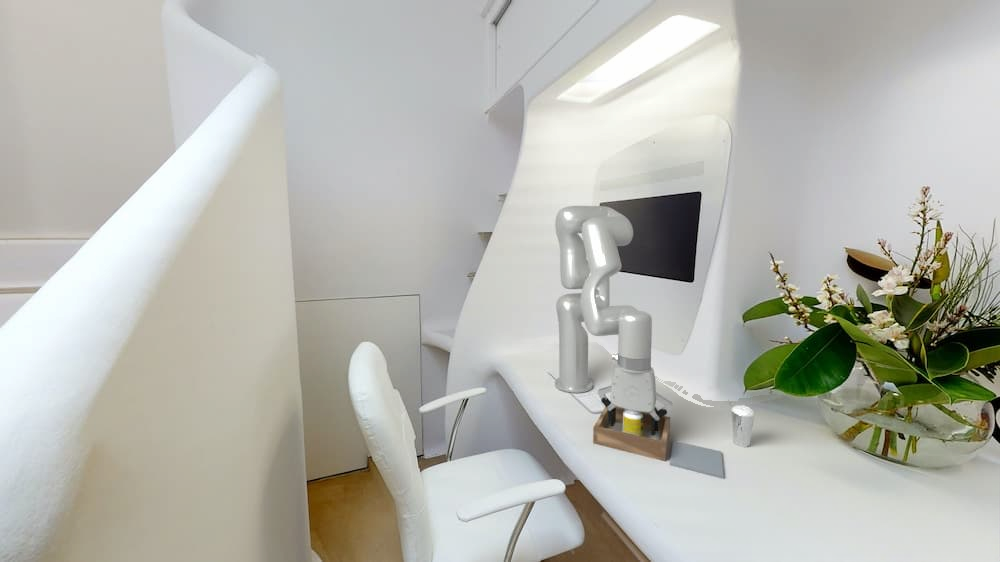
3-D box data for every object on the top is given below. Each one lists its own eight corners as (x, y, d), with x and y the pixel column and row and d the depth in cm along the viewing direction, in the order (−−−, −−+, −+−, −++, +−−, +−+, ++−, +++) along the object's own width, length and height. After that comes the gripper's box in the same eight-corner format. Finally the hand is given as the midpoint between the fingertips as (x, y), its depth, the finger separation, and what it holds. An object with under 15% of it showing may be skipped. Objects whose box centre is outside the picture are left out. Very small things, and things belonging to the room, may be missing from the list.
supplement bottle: (644, 443, 88) (645, 410, 87) (623, 441, 89) (624, 408, 88) (640, 433, 92) (641, 401, 91) (621, 431, 93) (622, 400, 92)
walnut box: (606, 418, 100) (606, 404, 100) (669, 431, 93) (670, 417, 92) (593, 443, 88) (593, 427, 88) (665, 461, 81) (665, 444, 80)
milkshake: (729, 435, 91) (730, 396, 90) (754, 443, 87) (757, 403, 86) (723, 442, 88) (725, 402, 87) (750, 451, 84) (752, 409, 83)
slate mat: (672, 442, 88) (673, 440, 88) (721, 453, 83) (721, 451, 83) (669, 464, 79) (669, 462, 79) (723, 478, 74) (723, 476, 74)
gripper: (594, 361, 89) (594, 427, 91) (672, 372, 81) (669, 445, 83) (602, 353, 96) (601, 414, 98) (674, 362, 88) (672, 429, 89)
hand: (632, 428), depth 90 cm, fingers open, 9 cm apart
